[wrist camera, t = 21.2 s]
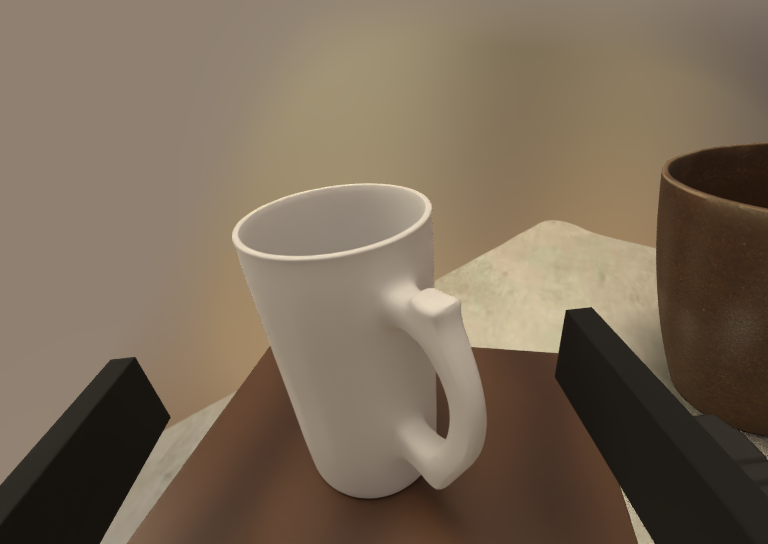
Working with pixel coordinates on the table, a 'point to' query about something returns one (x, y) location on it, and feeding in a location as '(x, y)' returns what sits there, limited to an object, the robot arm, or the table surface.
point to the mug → (364, 335)
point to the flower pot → (716, 281)
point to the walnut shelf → (417, 501)
